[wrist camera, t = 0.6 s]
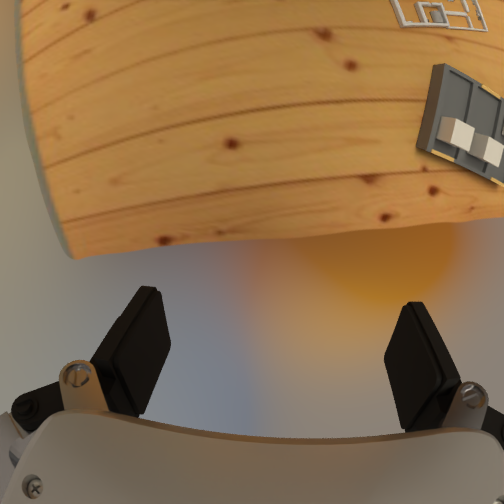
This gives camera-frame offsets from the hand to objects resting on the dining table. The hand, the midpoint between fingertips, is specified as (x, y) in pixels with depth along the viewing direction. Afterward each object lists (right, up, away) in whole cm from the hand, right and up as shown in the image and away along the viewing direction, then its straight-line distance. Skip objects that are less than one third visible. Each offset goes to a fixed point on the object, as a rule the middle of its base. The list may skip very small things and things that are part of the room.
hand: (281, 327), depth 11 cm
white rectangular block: (+23, +18, +18) cm, 34 cm away
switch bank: (+29, +20, +19) cm, 40 cm away
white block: (+28, +17, +18) cm, 37 cm away
